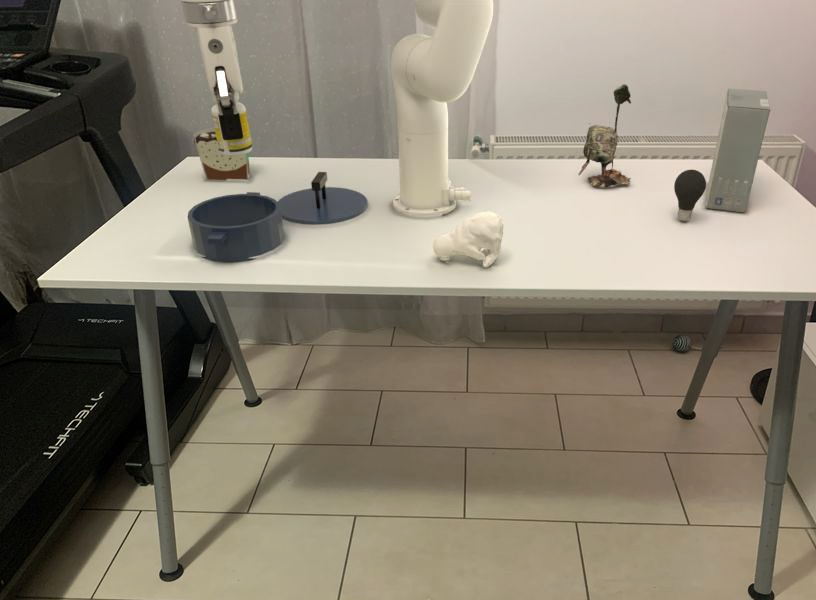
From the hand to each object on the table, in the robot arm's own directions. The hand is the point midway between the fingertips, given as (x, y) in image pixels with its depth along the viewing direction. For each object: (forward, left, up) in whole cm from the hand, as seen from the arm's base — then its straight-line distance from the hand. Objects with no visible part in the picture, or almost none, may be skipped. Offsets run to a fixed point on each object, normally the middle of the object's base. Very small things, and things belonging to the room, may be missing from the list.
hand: (232, 132), depth 117 cm
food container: (+15, -34, -20) cm, 42 cm away
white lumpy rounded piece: (-39, +4, -20) cm, 44 cm away
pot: (+2, 0, -20) cm, 20 cm away
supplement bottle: (0, 0, -3) cm, 3 cm away
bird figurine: (-66, -36, -20) cm, 78 cm away
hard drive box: (-90, -29, -20) cm, 97 cm away
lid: (-9, -17, -19) cm, 27 cm away
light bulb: (-79, -16, -20) cm, 83 cm away
